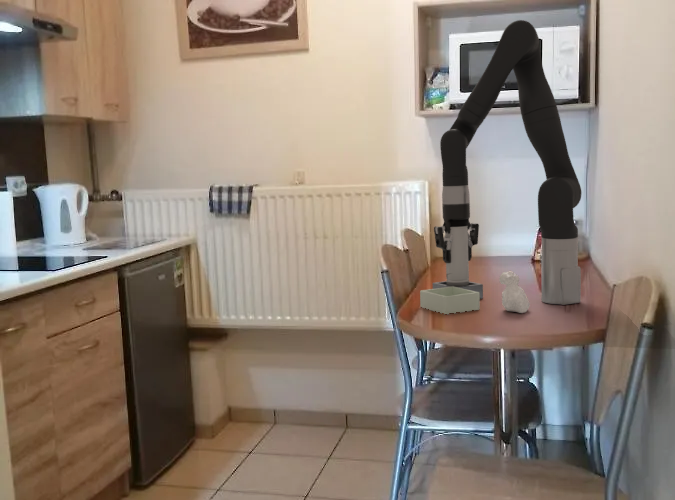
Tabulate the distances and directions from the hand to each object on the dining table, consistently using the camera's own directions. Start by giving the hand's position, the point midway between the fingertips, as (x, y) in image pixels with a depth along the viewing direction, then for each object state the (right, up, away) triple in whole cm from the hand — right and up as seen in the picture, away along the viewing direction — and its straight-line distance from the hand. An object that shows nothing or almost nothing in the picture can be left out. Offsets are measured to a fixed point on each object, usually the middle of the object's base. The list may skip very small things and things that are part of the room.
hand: (457, 261), depth 198 cm
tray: (-4, -12, -13) cm, 18 cm away
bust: (+11, -12, -19) cm, 25 cm away
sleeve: (0, -10, +2) cm, 10 cm away
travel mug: (0, -7, +1) cm, 7 cm away
